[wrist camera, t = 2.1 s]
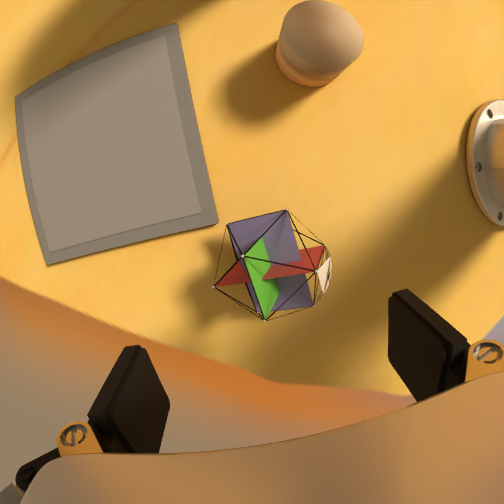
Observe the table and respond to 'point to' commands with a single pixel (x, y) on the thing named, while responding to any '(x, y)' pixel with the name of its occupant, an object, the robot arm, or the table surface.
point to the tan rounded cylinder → (317, 43)
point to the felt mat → (114, 149)
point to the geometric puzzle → (274, 264)
